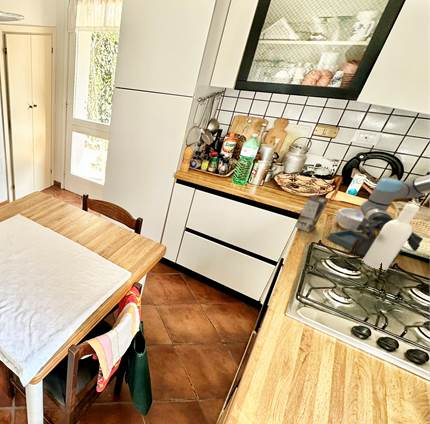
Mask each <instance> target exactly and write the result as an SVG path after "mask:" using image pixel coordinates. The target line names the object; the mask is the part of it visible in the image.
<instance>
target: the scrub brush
mask: <svg viewBox="0 0 430 424" xmlns="http://www.w3.org/2000/svg"><path fill="white" fill-rule="evenodd" d="M374 241H375V240H374ZM374 241H370V240H368V239H364V238H359V237H357V238H356V240H355V242H354V243H353V245H352V247H351V248H350V250H349V249H348V252H347V256H348V255H350V254H353V255H354V256H355V255H356V256H360V257H363V258H364V257H365V255H366V254H367V252H368V250H369V249H370V247H371V246H372V244H373V242H374ZM402 248H403V247H402ZM402 248H401V250H400V251H399V252H398V254H397V255H396V257H395V258H394V260H393V261H392V263H391V264H390V265H389V267H391V268H392V267H393V265H392V264H393V263H394V262H395V261H396V259H397V258H398V257H399V255H400V254H401V252H402ZM389 267H388V268H389Z"/></svg>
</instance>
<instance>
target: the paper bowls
mask: <svg viewBox="0 0 430 424" xmlns="http://www.w3.org/2000/svg"><path fill="white" fill-rule="evenodd" d="M363 218H365V216H364V215H363V214H362V211H361V209H357V208H352V207H351V208H350V207H342V208H340V209H338V211H337V213H336V215H335V216H334V219H335V221H336V222H338V223H337V224H338V225H339V227H341V228H342V229H344V230H349V229H350V230H352V231H355V232H357V233H361V232H362V230H360V231H359V230H356V229H357V227H358V225H359V224H360V223H361V222H362V220H363ZM367 225H369V224H367ZM367 225H365V226H367ZM365 226H364V227H365Z"/></svg>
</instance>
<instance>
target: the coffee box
mask: <svg viewBox="0 0 430 424" xmlns="http://www.w3.org/2000/svg"><path fill="white" fill-rule="evenodd" d="M328 202H329V199H328V198H325V197H321V196H317V195H312V196H311V197H310V198H307V201H306V202H305V205H304V206H303V209H302V211H301V213H300V215H299V217H298V219H297V221H296V223H295V225H294V227H295V228H297V229H299V230H302V231H305V232H307V233H310V231H312V230H313V229H314V228H316V226H317V224H318V222H319V220H320V218H321V216H322V214H323V212H324V209H325V207H326V206H327V204H328Z"/></svg>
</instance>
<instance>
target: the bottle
mask: <svg viewBox="0 0 430 424" xmlns="http://www.w3.org/2000/svg"><path fill="white" fill-rule="evenodd" d="M419 211H420V206H419V205H417V204H414V203H405V205H404V206H403V208H402V210H401V212H400V213H399V214H398V216H397V218H395V219H393V220H391V221H389V222H387V223H386V224H385V225H384V227H383V228H382V230H381V231H379V233H378V235H376V238H374V242H373V244H372V246H371V247H370V249H369V250H368V252H367V254H366V255H365V257H364V258H363V261H364V263H365V264H366V265H368V266H370V267H372V268H375V269H379V268H380V264H381V263H382V269H383V270H386V271H388V269H389V265H390V264H391V263H392V264H393V262H392V261H393V260H394V258H395V257H396V255H397V254H398V252H399V251H400V250H401V251H402V249H401V248H403V247H404V245H405V244H406V242H408V241H407V239H408V238H409V237H410V235H411V233H412V232H413V226H412V225H411V222H412V220H413V219H414V217H415V216H416V214H417V213H418V212H419ZM392 264H391V265H392Z"/></svg>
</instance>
